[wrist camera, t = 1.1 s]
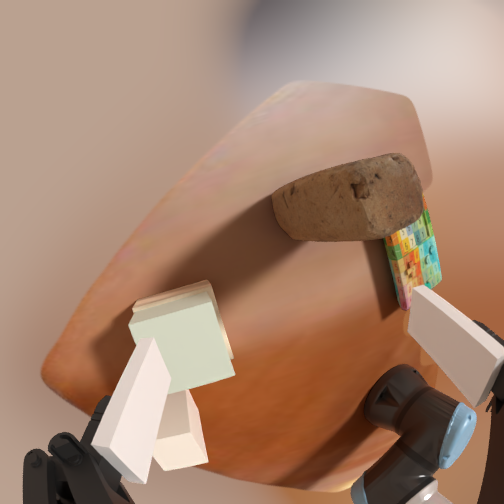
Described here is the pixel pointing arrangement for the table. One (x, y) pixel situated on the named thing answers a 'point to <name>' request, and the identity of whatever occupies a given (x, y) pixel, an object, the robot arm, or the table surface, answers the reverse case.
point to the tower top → (186, 340)
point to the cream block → (180, 434)
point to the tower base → (183, 293)
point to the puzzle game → (413, 258)
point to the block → (351, 201)
